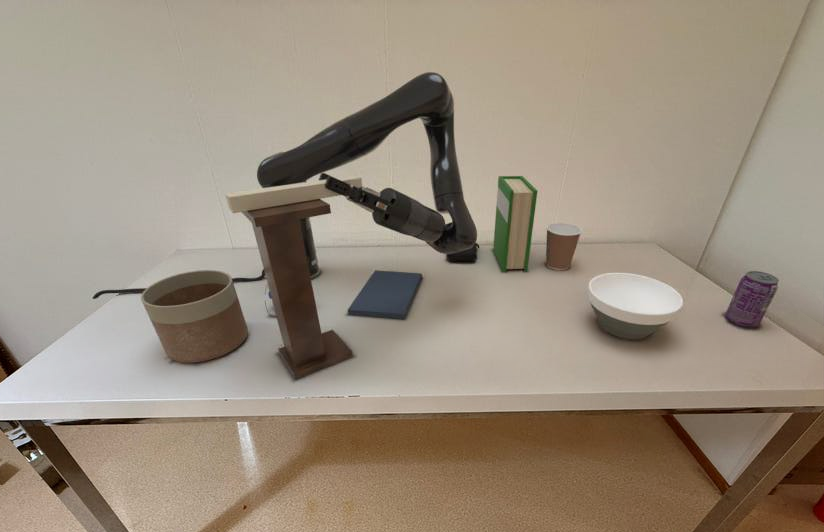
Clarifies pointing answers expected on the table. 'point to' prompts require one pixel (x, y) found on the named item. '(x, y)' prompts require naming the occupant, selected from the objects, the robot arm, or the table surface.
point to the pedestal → (294, 287)
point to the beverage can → (752, 298)
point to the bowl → (632, 304)
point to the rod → (284, 194)
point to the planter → (196, 315)
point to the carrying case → (464, 255)
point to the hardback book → (514, 222)
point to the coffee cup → (561, 244)
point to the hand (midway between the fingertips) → (324, 180)
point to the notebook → (386, 295)
